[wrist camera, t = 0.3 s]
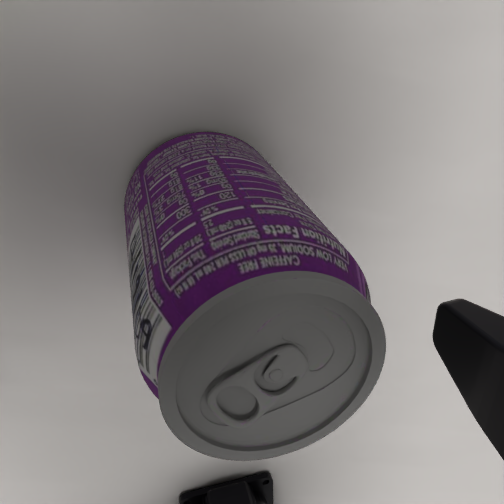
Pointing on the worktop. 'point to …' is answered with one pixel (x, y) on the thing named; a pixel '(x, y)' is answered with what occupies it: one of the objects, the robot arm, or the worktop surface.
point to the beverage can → (243, 303)
